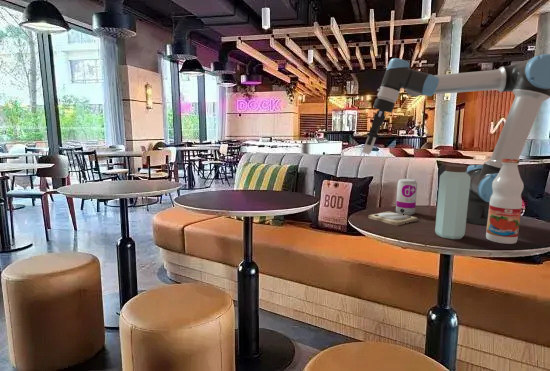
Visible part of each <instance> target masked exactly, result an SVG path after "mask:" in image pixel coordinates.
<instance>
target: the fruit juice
mask: <svg viewBox="0 0 550 371" xmlns="http://www.w3.org/2000/svg"><path fill="white" fill-rule="evenodd" d="M502 164H503V165H502V167H501V169H500V171H499V173H498V175H497V177H496V178H495V179H494V180H493V182H492V190H493V193H492V195H491V197H490V202H489V212H488V221H487V225H486V230H485V231H486V232H485V238H486V239H487V240H489V241H491V242H493V243H497V244H498V243H499V244H504V245H505V244H507V245H513V244H516V243H517V242H518V237H519V230H520V221H521V214H522V209H523V208H522V207H523V199H522V193H523V191H524V188H525V187H524V182H523V180H522V177H521V174H520V171H519V166H518V165H519V164H520V159H519V160H518V159H502Z"/></svg>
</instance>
